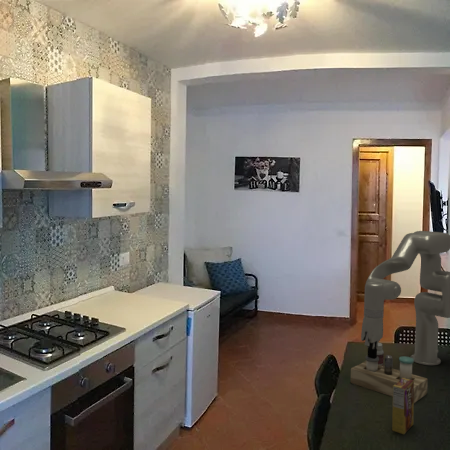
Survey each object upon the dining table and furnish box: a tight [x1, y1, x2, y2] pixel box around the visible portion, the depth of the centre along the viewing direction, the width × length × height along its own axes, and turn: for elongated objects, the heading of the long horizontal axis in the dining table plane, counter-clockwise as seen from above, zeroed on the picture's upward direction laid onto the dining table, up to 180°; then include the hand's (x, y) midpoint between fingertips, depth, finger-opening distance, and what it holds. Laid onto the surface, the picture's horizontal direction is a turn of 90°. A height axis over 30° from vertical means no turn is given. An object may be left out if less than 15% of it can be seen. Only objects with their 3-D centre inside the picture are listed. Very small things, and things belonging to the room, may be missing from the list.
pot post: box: [384, 354, 394, 375], centre depth 189 cm, size 3×3×7 cm
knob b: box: [398, 355, 415, 380], centre depth 184 cm, size 5×5×8 cm
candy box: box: [391, 378, 415, 435], centre depth 158 cm, size 9×4×15 cm, turn 140°
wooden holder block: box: [350, 360, 428, 404], centre depth 190 cm, size 12×26×6 cm, turn 45°
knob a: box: [365, 354, 379, 372], centre depth 194 cm, size 5×5×8 cm
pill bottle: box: [377, 342, 385, 366], centre depth 209 cm, size 6×6×11 cm
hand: (372, 357), depth 194 cm, fingers closed
